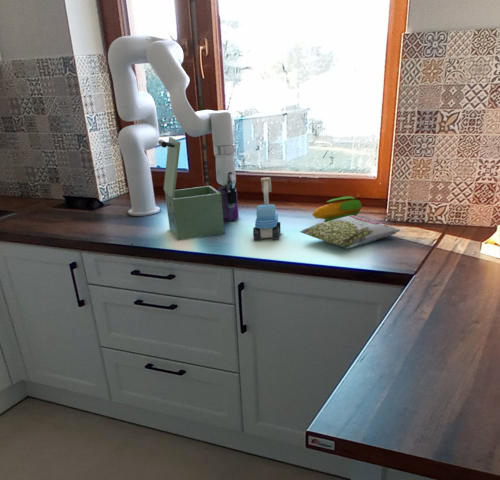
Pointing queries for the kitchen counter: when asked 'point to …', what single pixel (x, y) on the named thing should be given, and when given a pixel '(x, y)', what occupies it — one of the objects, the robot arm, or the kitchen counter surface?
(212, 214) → the green box
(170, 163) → the green box lid
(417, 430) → the kitchen counter surface
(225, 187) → the beverage can
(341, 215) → the corn
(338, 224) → the frozen beans
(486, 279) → the kitchen counter surface
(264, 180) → the toy excavator
